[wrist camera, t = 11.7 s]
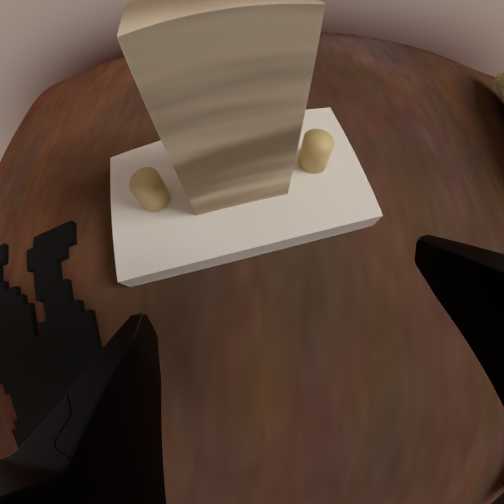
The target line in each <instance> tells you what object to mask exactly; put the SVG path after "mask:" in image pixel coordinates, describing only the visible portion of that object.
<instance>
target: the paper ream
mask: <svg viewBox="0 0 504 504" xmlns="http://www.w3.org/2000/svg"><path fill="white" fill-rule="evenodd" d="M324 9H325V4H324V3H323V2H321V1H320V0H127V3H126V6H125V9H124V13H123V16H122V19H121V23H120V27H119V30H118V34H117V39H118V42H119V44H120V46H121V49H122V51H123V54H124V56H125V59H126V61H127V64H128V66H129V68H130V71H131V73H132V75H133V78H134V80H135V82H136V85H137V87H138V89H139V92H140V94H141V96H142V99H143V101H144V103H145V106H146V108H147V110H148V112H149V115H150V117H151V119H152V121H153V124H154V126H155V128H156V130H157V132H158V135H159V137H160V139H161V141H162V143H163V146H164V148H165V150H166V152H167V154H168V156H169V159H170V161H171V163H172V165H173V167H174V169H175V171H176V174H177V176H178V178H179V180H180V182H181V184H182V186H183V188H184V190H185V192H186V195H187V197H188V199H189V201H190V203H191V205H192V207H193V209H194V211H195V213H196V215H201V214H205V213H209V212H213V211H217V210H221V209H225V208H229V207H233V206H237V205H241V204H245V203H250V202H254V201H258V200H263V199H267V198H272V197H276V196H281V195H285V194H288V190H289V186H290V181H291V177H292V172H293V167H294V163H295V158H296V153H297V149H298V144H299V139H300V134H301V130H302V125H303V120H304V115H305V110H306V105H307V100H308V95H309V90H310V85H311V80H312V75H313V69H314V64H315V59H316V54H317V48H318V43H319V37H320V32H321V26H322V21H323V15H324Z"/></svg>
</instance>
